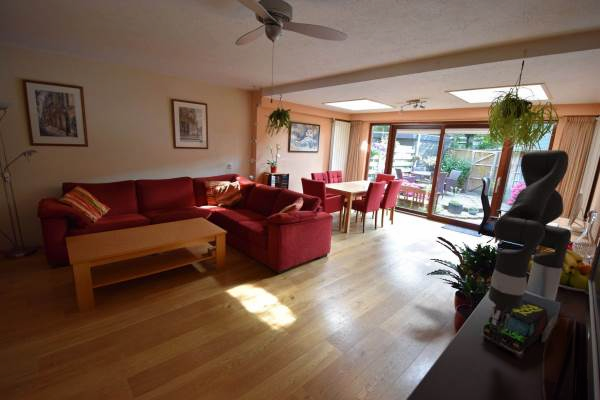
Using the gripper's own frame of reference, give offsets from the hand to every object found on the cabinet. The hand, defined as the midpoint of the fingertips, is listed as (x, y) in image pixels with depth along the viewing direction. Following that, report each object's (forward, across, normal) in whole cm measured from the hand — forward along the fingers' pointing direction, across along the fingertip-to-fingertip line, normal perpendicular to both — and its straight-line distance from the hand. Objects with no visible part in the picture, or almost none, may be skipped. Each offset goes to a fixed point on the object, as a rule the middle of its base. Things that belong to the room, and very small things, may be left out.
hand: (495, 341), depth 78 cm
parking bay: (+5, -32, 0) cm, 33 cm away
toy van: (+6, -18, +1) cm, 19 cm away
